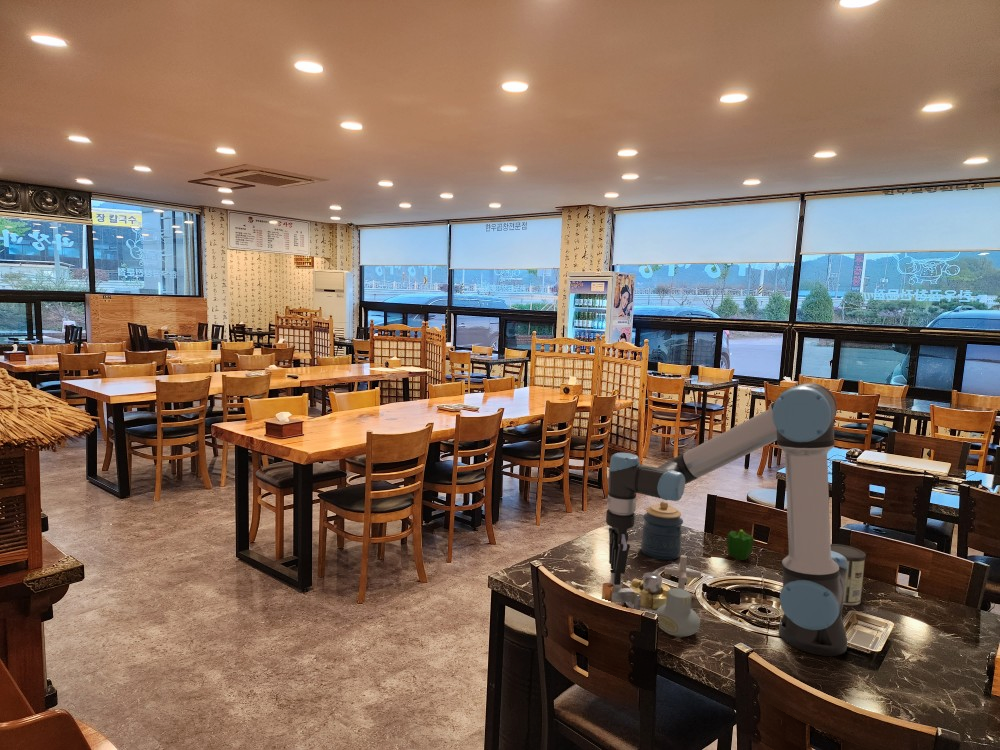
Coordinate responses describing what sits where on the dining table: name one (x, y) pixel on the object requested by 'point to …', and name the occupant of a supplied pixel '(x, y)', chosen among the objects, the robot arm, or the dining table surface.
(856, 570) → the coffee can
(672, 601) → the air freshener
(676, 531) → the canister
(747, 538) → the bell pepper
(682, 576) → the pipe connector
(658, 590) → the gold and silver mechanism
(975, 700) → the dining table surface
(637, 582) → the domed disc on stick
